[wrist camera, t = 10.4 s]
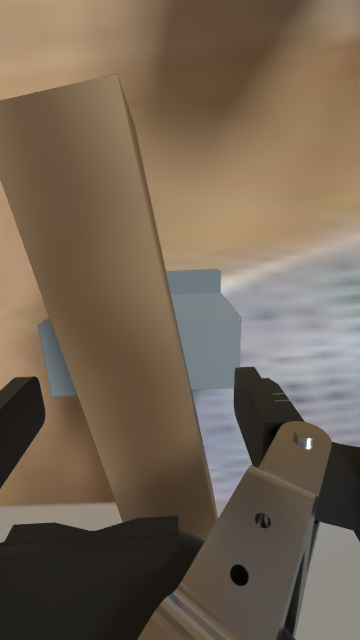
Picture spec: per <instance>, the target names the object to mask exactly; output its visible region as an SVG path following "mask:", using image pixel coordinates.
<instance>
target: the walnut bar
mask: <svg viewBox="0 0 360 640" xmlns="http://www.w3.org/2000/svg"><path fill="white" fill-rule="evenodd" d="M0 180H1V183H2V185H3V188H4V191H5V194H6V197H7V199H8V202H9V205H10V208H11V210H12V213H13V216H14V219H15V222H16V224H17V227H18V230H19V233H20V236H21V238H22V241H23V244H24V247H25V250H26V252H27V255H28V258H29V261H30V264H31V266H32V269H33V272H34V275H35V278H36V280H37V283H38V286H39V289H40V292H41V294H42V297H43V300H44V303H45V306H46V308H47V311H48V314H49V317H50V320H51V322H52V325H53V328H54V331H55V334H56V336H57V339H58V342H59V345H60V348H61V350H62V353H63V356H64V359H65V361H66V364H67V367H68V370H69V373H70V375H71V378H72V381H73V384H74V387H75V389H76V392H77V395H78V398H79V401H80V403H81V406H82V409H83V412H84V415H85V417H86V420H87V423H88V426H89V429H90V431H91V434H92V437H93V440H94V443H95V445H96V448H97V451H98V454H99V457H100V459H101V462H102V465H103V468H104V471H105V473H106V476H107V479H108V482H109V485H110V487H111V490H112V493H113V496H114V499H115V501H116V504H117V507H118V510H119V513H120V515H121V518H122V521H123V522H126V521H130V520H133V519H136V518H146V517H164V516H178V521H179V531H183V532H187V533H190V534H193V535H195V536H197V537H199V538H201V539H203V540H206V539H207V537H208V535H209V534H210V532H211V530H212V529H213V527H214V525H215V523H216V522H217V520H218V516H217V511H216V504H215V498H214V493H213V488H212V483H211V479H210V474H209V469H208V465H207V460H206V455H205V451H204V446H203V441H202V437H201V432H200V427H199V423H198V418H197V413H196V409H195V404H194V400H193V395H192V390H191V386H190V381H189V376H188V372H187V367H186V362H185V358H184V353H183V348H182V344H181V339H180V334H179V330H178V325H177V320H176V316H175V311H174V306H173V302H172V297H171V292H170V288H169V283H168V278H167V274H166V269H165V264H164V260H163V255H162V250H161V246H160V241H159V236H158V232H157V227H156V222H155V218H154V213H153V208H152V204H151V199H150V194H149V190H148V185H147V180H146V176H145V171H144V166H143V162H142V157H141V152H140V148H139V143H138V138H137V134H136V129H135V126H134V123H133V120H132V117H131V114H130V111H129V108H128V105H127V102H126V99H125V96H124V93H123V90H122V87H121V83H120V80H119V77H118V74H115V75H111V76H106V77H102V78H97V79H93V80H89V81H84V82H80V83H75V84H71V85H67V86H62V87H58V88H53V89H49V90H45V91H40V92H36V93H31V94H27V95H23V96H18V97H14V98H10V99H5V100H1V101H0Z"/></svg>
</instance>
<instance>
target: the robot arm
mask: <svg viewBox="0 0 360 640" xmlns="http://www.w3.org/2000/svg"><path fill="white" fill-rule="evenodd" d="M234 410H235V416H236V419H237V422H238V425H239V427H240V430H241V433H242V436H243V439H244V442H245V444H246V447H247V450H248V453H249V456H250V459H251V462H252V464H253V465H251V466H249V468H248V469H247V471H246V472H245V474H244V476H243V477H242V479H241V481H240V483H239V484H238V486H237V488H236V489H235V491H234V493H233V494H232V496H231V498H230V500H229V501H228V503H227V505H226V506H225V508H224V510H223V512H222V513H221V515H220V517H219V518H218V520H217V522H216V523H215V525H214V527H213V529H212V530H211V532H210V534H209V535H208V537H207V539H206V540H203V539H201V538H199V537H197V536H195V535H193V534H190V533H187V532H183V531H179V521H178V516H164V517H146V518H136V519H133V520H130V521H126V522H123V523H120V524H117V525H113V526H111V527H107V528H104V529H100V530H97V531H88V530H84V529H80V528H76V527H71V526H67V525H63V524H58V523H39V524H38V523H37V524H19V525H13V527H12V529H11V531H10V532H9V534H8V536H7V538H6V540H5V542H2V543H0V640H295V638H294V637H295V633H296V628H297V624H298V619H299V615H300V610H301V605H302V600H303V594H304V589H305V585H306V580H307V576H308V571H309V567H310V562H311V559H312V554H313V550H314V546H315V542H316V538H317V533H318V529H319V525H320V522H323V523H327V524H331V525H335V526H339V527H343V528H347V529H350V530H354V532H355V534H356V536H357V538H358V539H359V541H360V447H354V446H348V445H343V444H338V443H334V442H331V439H330V437H329V436H328V434H327V433H326V432H325V431H323V430H322V429H321V428H319V427H317V426H315V425H313V424H310V423H307V422H305V421H304V420H303V419H302V417H301V416H300V414H299V413H298V412H297V410H296V409H295V407H294V406H293V405H292V403H291V402H290V401H289V399H288V397H287V396H286V395H285V394H284V392H283V390H282V389H281V388H280V386H279V385H278V384H277V383H275V382H274V381H272V380H271V379H269V378H261V377H260V375H259V373H258V372H257V370H256V369H255V367H237V368H235V372H234ZM44 420H45V407H44V402H43V398H42V393H41V388H40V383H39V380H38V378H37V377H16V378H14V379H12V380H11V381H10V382H9V383H8V384H7V385H6V386H5V387H4V388H3V389H2V390H0V488H1V487H2V485H3V484H4V482H5V481H6V479H7V478H8V476H9V475H10V473H11V472H12V470H13V469H14V467H15V466H16V464H17V463H18V462H19V460H20V459H21V457H22V456H23V454H24V453H25V451H26V450H27V448H28V447H29V445H30V444H31V442H32V441H33V439H34V438H35V436H36V435H37V433H38V432H39V430H40V429H41V427H42V426H43V424H44Z"/></svg>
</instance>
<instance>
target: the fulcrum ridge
mask: <svg viewBox="0 0 360 640" xmlns="http://www.w3.org/2000/svg"><path fill="white" fill-rule="evenodd" d="M166 274H167V278H168V283H169V288H170V292H171V297H172V302H173V306H174V311H175V316H176V320H177V325H178V330H179V334H180V339H181V344H182V348H183V353H184V358H185V362H186V367H187V372H188V376H189V381H190V386H191V390H204V389H224V388H234V372H235V368H237V367H240V339H241V316H240V315H239V314H238V312H237V311H236V310H235V309H234V308H233V307H232V305H231V304H230V303H229V302H228V301H227V300H226V298H225V297H224V296H223V295H222V294H221V293H220V284H221V271H220V270H219V269H210V270H185V271H166ZM38 329H39V334H40V339H41V344H42V349H43V354H44V360H45V365H46V370H47V375H48V380H49V385H50V390H51V395H52V397H61V396H78V395H77V392H76V389H75V387H74V384H73V381H72V378H71V375H70V373H69V370H68V367H67V364H66V361H65V359H64V356H63V353H62V350H61V348H60V345H59V342H58V339H57V336H56V334H55V331H54V328H53V325H52V322H51V320H50V317H49V318H48V319H47V320H45V321H44V322H42V323H41V324H39V325H38Z"/></svg>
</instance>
